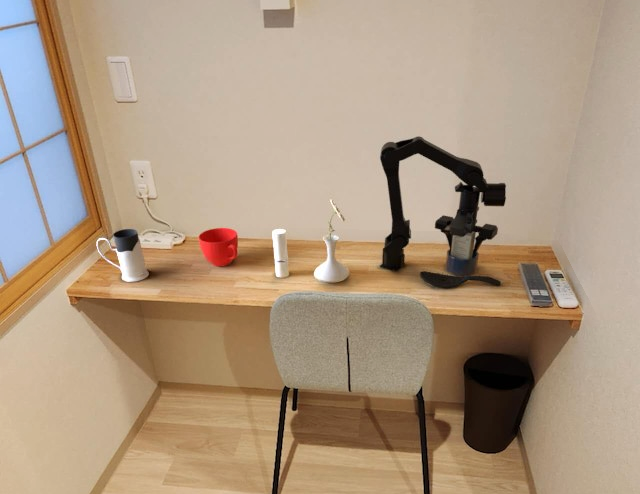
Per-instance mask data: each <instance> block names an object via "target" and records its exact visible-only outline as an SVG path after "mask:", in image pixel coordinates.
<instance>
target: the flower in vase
mask: <svg viewBox="0 0 640 494" xmlns="http://www.w3.org/2000/svg"><path fill="white" fill-rule="evenodd" d="M330 203H331V206H332V208H333V212H332V214H331V217H330V219H329V221H328V222H327V223H328V232H327V235H324V236H323V237H322V240H323V241H324V243H325V245H326V250H327V257H326V260H325V261H324V262H322V263H321V264H319V265H318V266H316V268H315V269H314V271H313V276H314V277H315V279H316V280H318V281H320V282H322V283H329V284H330V283H339V282H342V281H345V280H347V279H348V277H349V276H350V270H349V269H348V267H347V266H345V265H344V264H343V263H342V262H340V261H338V260H337V258H336V245H337V242H338V241H339V239H340V237H339V236H338V235H335V234H331V233H333V232H335V231H336V230H335V229H333V226H332V224H331V223H332V219H333V217H334V215H335V214H336V215H337V216H338V217H339V219H341V221H342V222H345V221H346V219H345V216H344V215H343V214H342V213H341V212H340V211H341V210H340V209H339V208H338V207H337V204H336V202H335V201H334V199H333V198H330Z"/></svg>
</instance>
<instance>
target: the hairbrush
mask: <svg viewBox="0 0 640 494" xmlns="http://www.w3.org/2000/svg"><path fill="white" fill-rule="evenodd" d="M436 272H437V271H436V270H434V272H433V271H429V269H426V270H421V271H420V272H419V277H420V279H422V281H423V282H424V283H426V284H428V285H430V286H431V287H434V288H439V289H445V290H448V289H453V288H454V289H455V288H456V287H459V286H461V285H463V284H465V283H466V282H469V281H472V282H481V283H485V284H489V285H492V286H496V287H497V286H502V285H501V284H502V282H501V280H499V279H497V278H494V277H491V276H488V275H471V274H470V275H461V274H459V275H457V274H455V275H454V274H453V273H446V274H445V273H444V272H442V273H439V272H437V273H436Z"/></svg>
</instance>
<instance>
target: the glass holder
mask: <svg viewBox="0 0 640 494" xmlns="http://www.w3.org/2000/svg"><path fill="white" fill-rule="evenodd" d="M112 237H113V240H114V245H115V248H113V247H112V243H111V242H110V241H109V239H107V238H105V237H100V238H98V239H97V241H96V244H95V245H96V248H97V251H98V253H99V254H100V256H101V257H102V259H103V260H105V261H106V262H108V264H110V265H112V266H114V267H116V268H118V270H120V272H121V279H122V281H125V282H127V283H128V282H129V283H132V282H133V283H134V282H139V281H142V280H144V279H146V278H148V277H149V275H150V273H149V271H148V269H147V265H146V262H145V261H146V260H145V257H144V253H143V248H142V244H141V239H140V237H139V233H138V231H137V230H136V229H135V228H124V229H123V228H122V229H119V230H117V231H115V232H114V233H112ZM102 240H104V241H106V242H107V243H108V245H109V248H110V250H111V251H113V252H116V255H117V260H118V263H119V265H118V264H116V263H114V262H113V261H111V260H109V259H108V258H106V256H105V255H104V254H103V253H102V252H101V249H100V247H99V242H100V241H102Z"/></svg>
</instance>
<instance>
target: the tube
mask: <svg viewBox="0 0 640 494" xmlns="http://www.w3.org/2000/svg"><path fill="white" fill-rule="evenodd" d="M271 234H272V244H273V257H274V267H275V268H274V269H275V276H276V277H277V278H287V277H288V276H289V275H290V268H289V254H288V241H287V230H286V229H285V228H276V229H274V230H272V233H271Z"/></svg>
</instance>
